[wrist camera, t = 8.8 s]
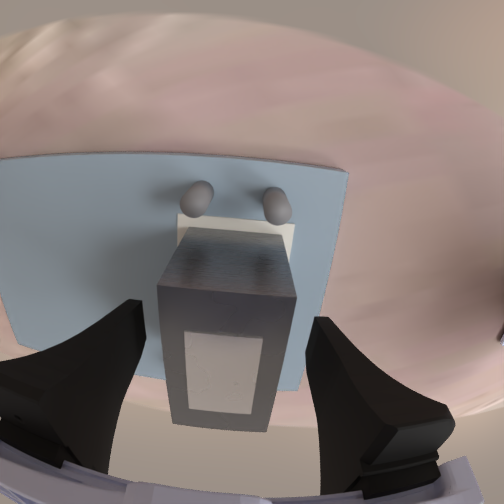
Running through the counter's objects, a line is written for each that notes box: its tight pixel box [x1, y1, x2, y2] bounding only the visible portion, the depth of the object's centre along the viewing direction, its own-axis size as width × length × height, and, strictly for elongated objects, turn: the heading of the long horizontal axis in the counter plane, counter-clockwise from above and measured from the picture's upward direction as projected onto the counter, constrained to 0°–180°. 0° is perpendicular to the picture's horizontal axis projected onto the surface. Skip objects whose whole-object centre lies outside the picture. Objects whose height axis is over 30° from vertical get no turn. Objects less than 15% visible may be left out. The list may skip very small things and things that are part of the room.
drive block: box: [157, 227, 297, 432], centre depth 12 cm, size 4×7×5 cm, turn 174°
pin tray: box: [0, 152, 349, 391], centre depth 14 cm, size 20×13×3 cm, turn 84°
